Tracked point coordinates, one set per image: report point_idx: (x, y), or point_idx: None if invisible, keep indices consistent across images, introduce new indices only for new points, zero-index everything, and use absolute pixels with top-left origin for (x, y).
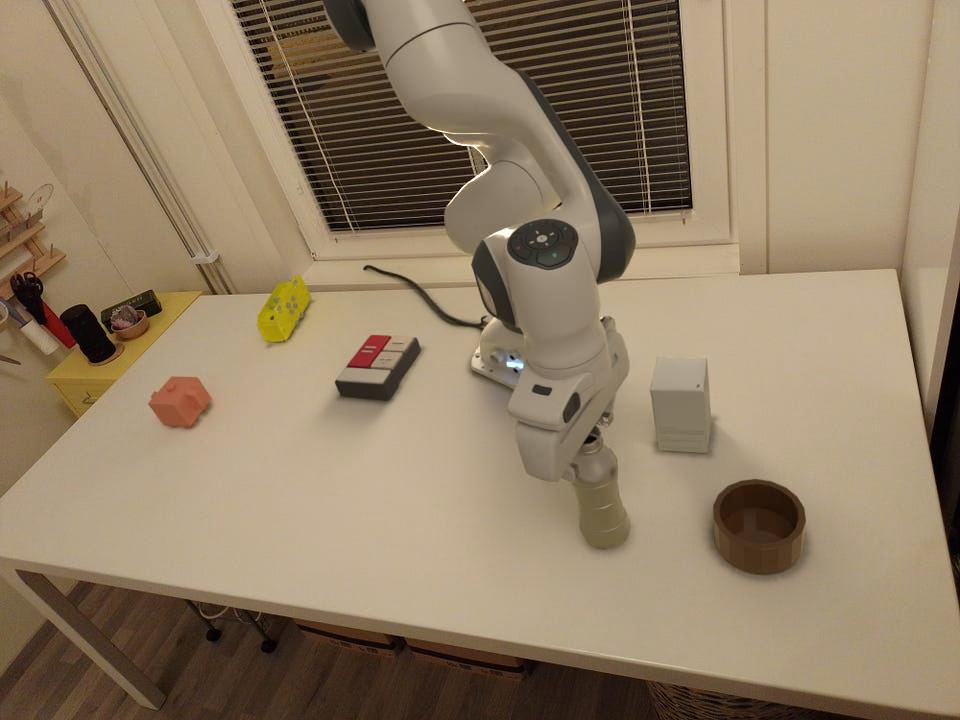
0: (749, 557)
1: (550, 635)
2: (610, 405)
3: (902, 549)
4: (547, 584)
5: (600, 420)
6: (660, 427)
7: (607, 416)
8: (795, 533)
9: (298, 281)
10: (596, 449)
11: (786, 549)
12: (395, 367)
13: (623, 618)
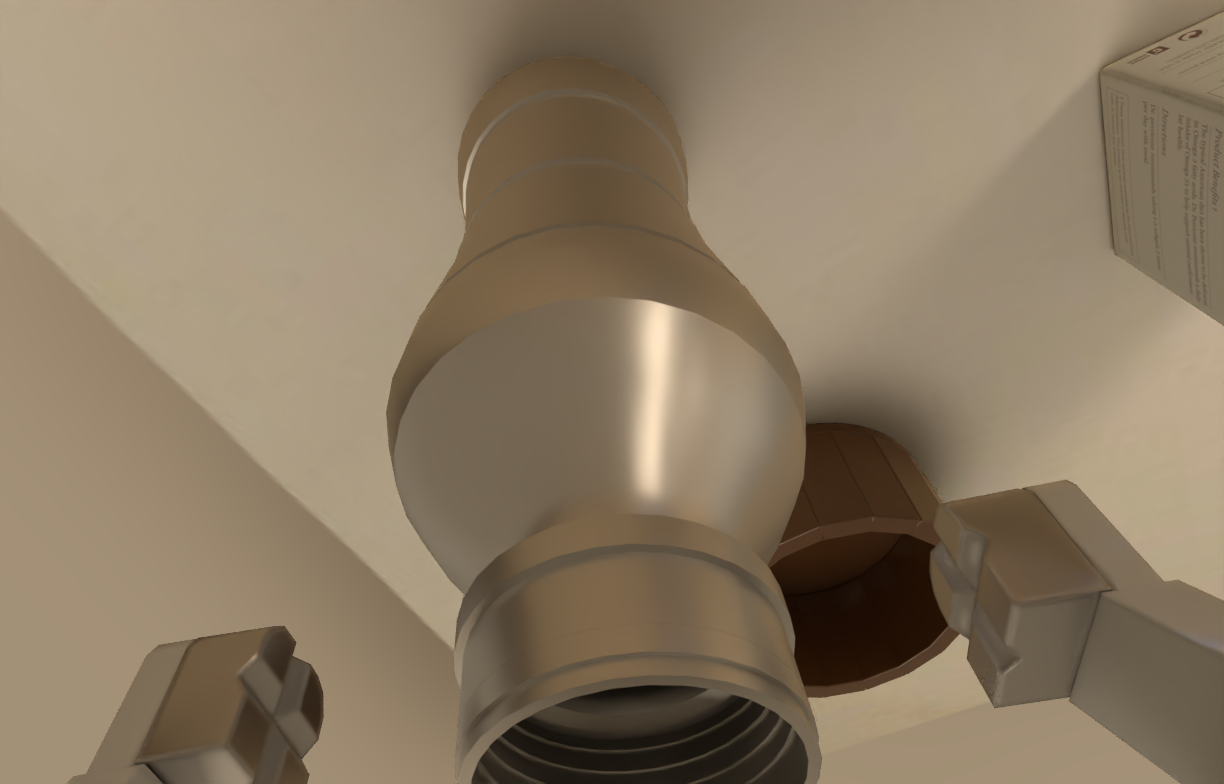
0: None
1: (76, 251)
2: (1171, 766)
3: (899, 692)
4: (201, 91)
5: (977, 571)
6: (1215, 136)
7: (1018, 698)
8: (813, 691)
9: None
10: (592, 756)
11: None
12: None
13: (337, 394)
